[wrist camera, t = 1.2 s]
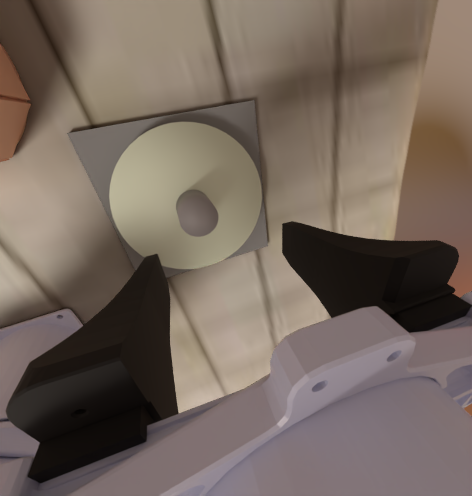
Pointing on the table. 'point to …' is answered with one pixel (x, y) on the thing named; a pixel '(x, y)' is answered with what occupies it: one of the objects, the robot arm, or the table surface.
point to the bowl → (11, 106)
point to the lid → (185, 195)
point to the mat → (122, 135)
